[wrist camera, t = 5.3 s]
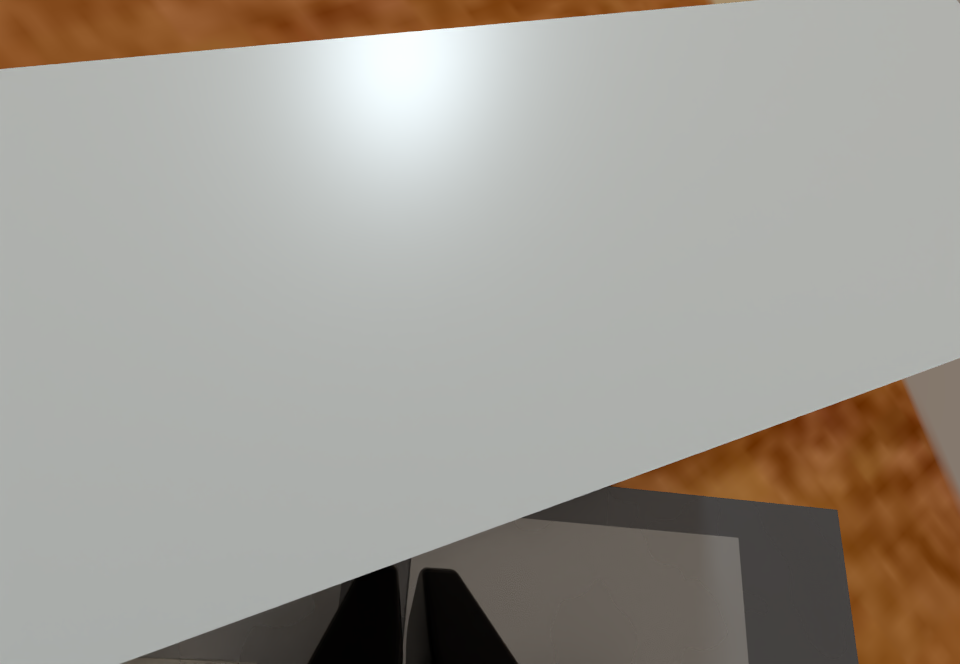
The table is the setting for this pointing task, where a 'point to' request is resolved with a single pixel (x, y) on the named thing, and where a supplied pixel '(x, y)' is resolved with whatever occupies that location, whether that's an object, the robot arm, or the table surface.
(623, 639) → the server tray
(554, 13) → the table surface
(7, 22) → the table surface
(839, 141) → the upright grey slab
